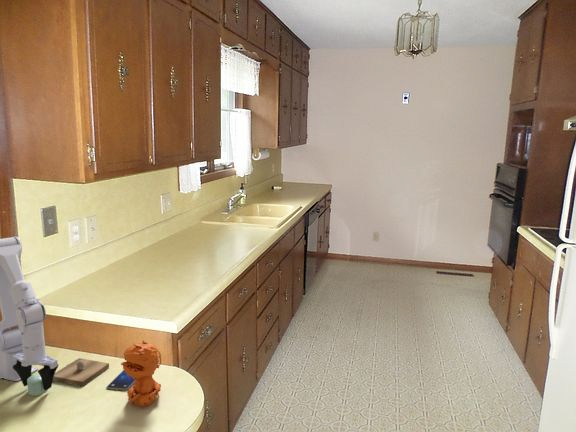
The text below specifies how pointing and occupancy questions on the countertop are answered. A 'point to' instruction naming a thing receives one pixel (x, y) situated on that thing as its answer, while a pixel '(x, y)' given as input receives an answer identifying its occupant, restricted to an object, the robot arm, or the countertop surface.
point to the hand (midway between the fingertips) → (37, 386)
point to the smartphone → (121, 382)
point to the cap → (35, 385)
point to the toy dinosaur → (142, 372)
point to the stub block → (80, 372)
